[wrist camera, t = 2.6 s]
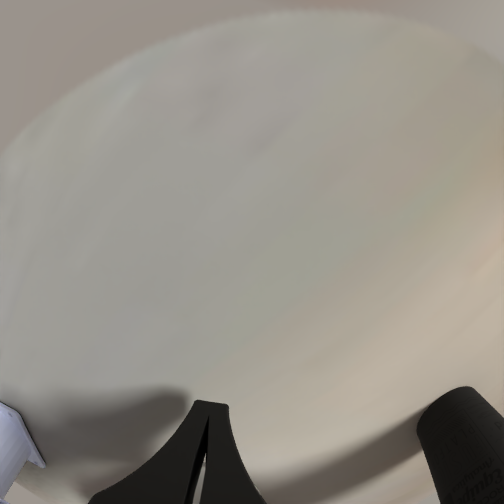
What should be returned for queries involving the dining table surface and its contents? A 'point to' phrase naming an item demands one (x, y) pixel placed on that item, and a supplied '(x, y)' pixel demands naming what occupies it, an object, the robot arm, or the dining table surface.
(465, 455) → the drinking cup
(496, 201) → the dining table surface
